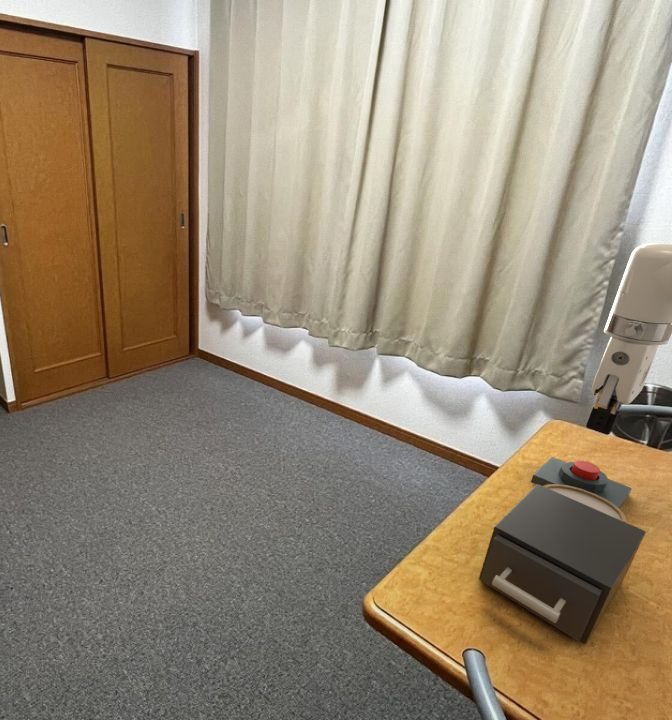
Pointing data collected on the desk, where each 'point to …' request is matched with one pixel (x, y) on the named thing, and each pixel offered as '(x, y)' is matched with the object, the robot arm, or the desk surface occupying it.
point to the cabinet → (573, 541)
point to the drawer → (541, 586)
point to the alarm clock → (588, 500)
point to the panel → (581, 481)
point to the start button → (585, 470)
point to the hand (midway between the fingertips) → (598, 429)
